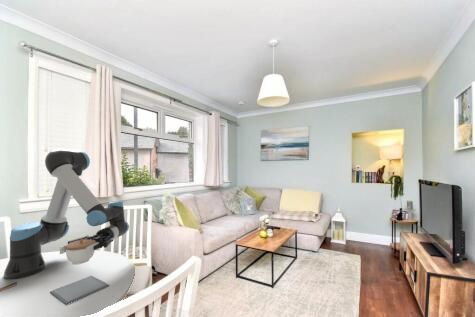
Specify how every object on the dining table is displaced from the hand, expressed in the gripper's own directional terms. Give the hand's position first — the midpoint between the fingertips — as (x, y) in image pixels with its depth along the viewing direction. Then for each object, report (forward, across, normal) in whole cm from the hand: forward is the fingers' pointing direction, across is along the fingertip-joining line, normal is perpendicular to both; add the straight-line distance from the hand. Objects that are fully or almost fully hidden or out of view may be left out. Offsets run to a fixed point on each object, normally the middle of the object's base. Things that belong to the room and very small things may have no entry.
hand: (73, 250), depth 93 cm
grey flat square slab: (-4, 0, -18) cm, 18 cm away
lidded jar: (-4, 0, -6) cm, 8 cm away
